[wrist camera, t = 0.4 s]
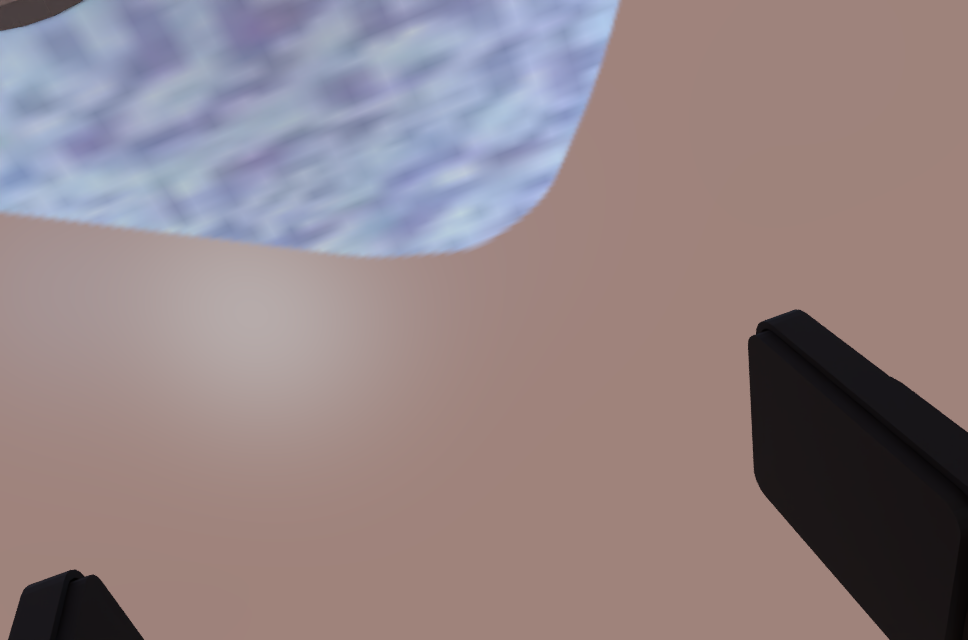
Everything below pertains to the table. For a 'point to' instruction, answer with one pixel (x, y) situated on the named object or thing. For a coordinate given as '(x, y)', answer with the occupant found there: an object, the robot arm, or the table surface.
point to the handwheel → (5, 1)
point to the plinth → (31, 11)
